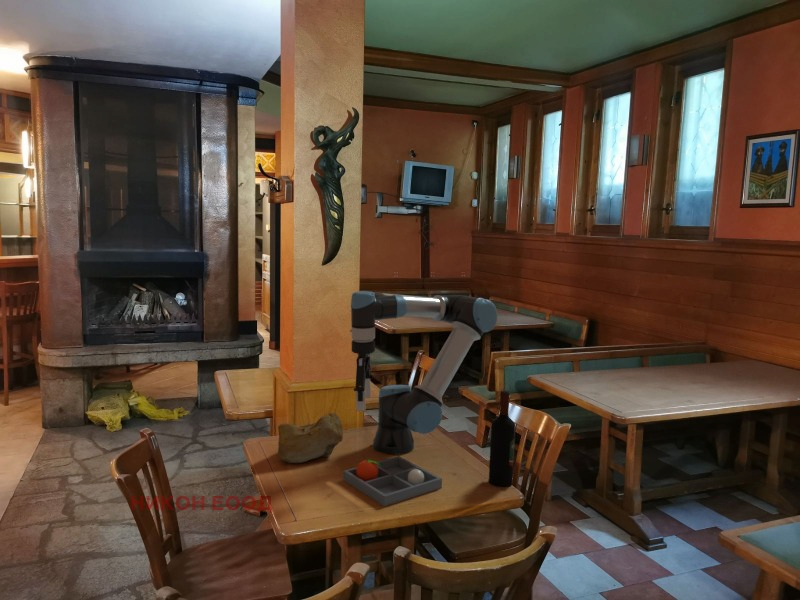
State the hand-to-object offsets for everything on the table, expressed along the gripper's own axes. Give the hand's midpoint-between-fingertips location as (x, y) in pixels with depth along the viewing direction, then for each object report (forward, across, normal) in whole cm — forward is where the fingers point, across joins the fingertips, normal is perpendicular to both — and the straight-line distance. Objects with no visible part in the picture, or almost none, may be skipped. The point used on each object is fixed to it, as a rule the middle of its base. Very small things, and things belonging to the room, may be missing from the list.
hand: (363, 403), depth 194 cm
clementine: (+22, +10, +3) cm, 25 cm away
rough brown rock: (+23, -12, -22) cm, 34 cm away
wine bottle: (+25, +2, +44) cm, 51 cm away
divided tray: (+23, +10, +10) cm, 27 cm away
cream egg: (+22, +11, +18) cm, 30 cm away
